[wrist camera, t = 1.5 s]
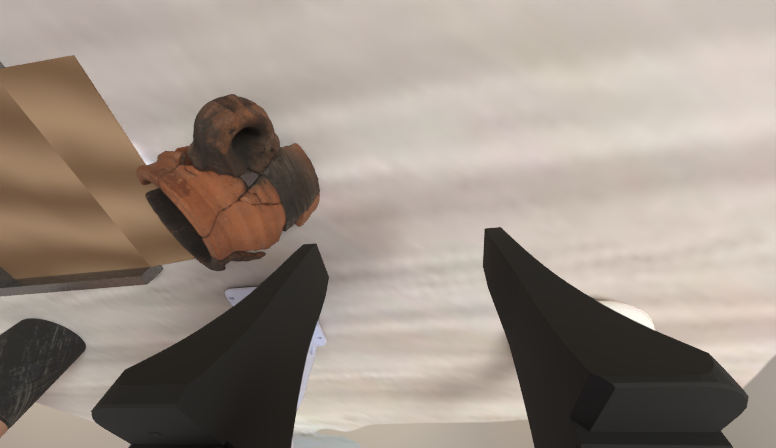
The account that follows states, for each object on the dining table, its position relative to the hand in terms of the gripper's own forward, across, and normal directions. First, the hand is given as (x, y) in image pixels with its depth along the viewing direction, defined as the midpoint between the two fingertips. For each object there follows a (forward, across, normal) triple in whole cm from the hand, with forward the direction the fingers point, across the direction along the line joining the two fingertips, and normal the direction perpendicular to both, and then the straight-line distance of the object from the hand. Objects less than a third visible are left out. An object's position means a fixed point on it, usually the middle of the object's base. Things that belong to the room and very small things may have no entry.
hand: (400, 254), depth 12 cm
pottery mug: (+10, +11, -1) cm, 15 cm away
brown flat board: (+9, +29, -2) cm, 30 cm away
